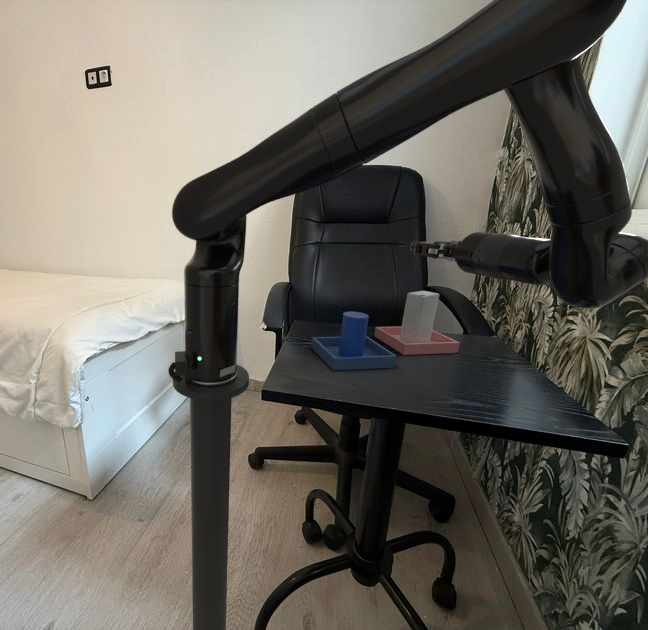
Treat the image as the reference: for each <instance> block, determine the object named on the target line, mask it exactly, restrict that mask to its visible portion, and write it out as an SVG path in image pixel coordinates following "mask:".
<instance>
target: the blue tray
mask: <svg viewBox="0 0 648 630" xmlns="http://www.w3.org/2000/svg"><path fill="white" fill-rule="evenodd" d="M340 338H341V336H321V337H320V336H319V337H318V336H316V337H311V346H310V347H311V349H312V351H314V352H315V353H316V354H317V355H318V356H319V357H320V358H321V359H322V361H323V362H325V364H327V366H329V367H330V368H331V370H333V371H348V370H349V371H351V370H352V371H353V370H371V369H373V370H374V369H392V368H394V369H395V368H396V366H397V360H398V355H396V354H394V352H391V351H390V350H388V349H387V348H386V347H384V346H382V345H381V344H379V343H378V342H376V341H375V340H373V339H372V338H370V337H369V336H367V335H366V340H365V347H364V354H363V356H362V357H342V356H340V355H339V347H340Z"/></svg>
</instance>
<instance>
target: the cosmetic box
mask: <svg viewBox="0 0 648 630" xmlns="http://www.w3.org/2000/svg"><path fill="white" fill-rule="evenodd" d="M439 300H440V293H437V292H433V291H428V290H419V291H412V292H407V295H406V300H405V304H404V311H403V316H402V323H401V326H402V327H401V333H400V338H399V340H401V341H403V342H405V343H406V344H407V343H428V342H430V339H431V334H432V330H434V329H433V328H434V324H435V318H436V313H437V308H438V303H439Z"/></svg>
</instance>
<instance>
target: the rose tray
mask: <svg viewBox="0 0 648 630" xmlns="http://www.w3.org/2000/svg"><path fill="white" fill-rule="evenodd" d="M401 327H402V325H399V326H398V325H397V326H375V328H374V338H376V339H378V340H379V341H381V342H383V343H384V344H386V345H387V346H389V347H391V348H392V349H394V350H395V351H397V352H399V353H400V354H401V355H403V356H409V355H411V356H412V355H413V356H414V355H415V356H416V355H435V354H436V355H437V354H457V353H458V352H459V347H460V342H459V341H457V340H455V339H454V338H451V337H449V336H447V335H444V334H443V333H440V332H438V331H436V330H434V329H432V334H431V339H430V342H428V343H407V344H406V343H405V342H403V341H401V340H399V338H400V333H401Z"/></svg>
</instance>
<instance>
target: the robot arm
mask: <svg viewBox="0 0 648 630" xmlns="http://www.w3.org/2000/svg"><path fill="white" fill-rule="evenodd" d="M627 1H628V0H492V1H491V2H489V3H488V4H486V5H485V6H484V7H482V8H481V9H479V10H478V11H477V12H475V13H474V14H472V15H471V16H470V17H469V18H467V19H466V20H464V21H463V22H461V23H460V24H459V25H457V26H456V27H454V28H453V29H451V30H450V31H448V32H446V33H445V34H443V35H442V36H441V37H438V38H437V39H436V40H434V41H432V42H431V43H429V44H427V45H425V46H423V47H421V48H419V49H416V50H415V51H413V52H411V53H409V54H407V55H405V56H402V57H400V58H398V59H396V60H393V61H392V62H389V63H386V64H385V65H383V66H382V67H379V68H376V69H375V70H373V71H371V72H370V73H367V74H366V75H364V76H361V77H359V78H358V79H356V80H354V81H353V82H350V83H349V84H347V85H345V86H344V87H342V88H340V89H338V90H337V91H336V92H334V93H332V94H331V95H329V96H328V97H326V98H325V99H323V100H321V101H320V102H318V103H317V104H315V105H314V106H312V107H310V108H309V109H308V110H306V111H305V112H303V113H302V114H301V115H298V117H296V118H294V119H293V120H292V121H290V122H289V123H287V124H286V125H284V126H282V127H281V128H280V129H278V130H277V131H275V132H273V133H272V134H271V135H269V136H268V137H266V138H264V139H263V140H262V141H261V142H259V143H257V144H256V145H255V146H253V147H252V148H250V149H249V150H247V151H246V152H245V153H242V154H241V155H239V156H238V157H236V158H234V159H232V160H230V161H229V162H226V163H224V164H222V165H220V166H218V167H216V168H214V169H212V170H210V171H208V172H206V173H204V174H202V175H199V176H197V177H196V178H193V179H191V180H190V181H188V182H186V183H185V184H184V185H183V186H182V187H181V188H180V189H179V190H178V192H177V193H176V195H175V198H174V199H173V203H172V207H171V218H172V222H173V225H174V227H175V228H176V230H177V231H178V233H179V234H181V235H182V236H183V237H185V238H187V239H189V240H192V241H195V248H194V251H193V254H192V256H191V258H190V259H189V261H188V262H187V263H186V264H185V265H184V267H183V293H184V294H183V297H184V298H183V300H184V304H183V305H184V321H183V327H184V328H183V329H184V335H183V337H184V350H182V351H181V350H180V351H179V350H178V351H174V361H172V363H170V365H169V367H168V369H167V371H168V372H167V373H168V375H169V377H170V378H171V379H172V380H173V379H174V380H175V381H177V382H178V383H180V382H181V381H182V378H181V377H180V376H182V375H185V378H186V384H195V385H198V386H203V387H219V386H224V385H227V384H230V383H232V382H233V381H234V380H235V379H236V378H237V365H238V336H239V335H238V333H239V332H238V330H239V298H240V297H239V296H240V273H241V271H242V268H243V265H244V261H245V252H246V237H247V215H248V214H250V213H252V212H254V211H256V210H257V209H259V208H261V207H263V206H265V205H267V204H269V203H272V202H274V201H277V200H281V199H284V198H288V197H290V196H291V197H292V196H294V195H297V194H300V193H303V192H306V191H309V190H311V189H315V188H318V187H320V186H323V185H325V184H327V183H329V182H332V181H334V180H337V179H339V178H341V177H344V176H345V175H347V174H348V173H351V172H352V171H355V170H357V169H359V168H361V167H362V166H364V165H366V164H368V163H370V162H372V161H373V160H375V159H377V158H378V157H380V156H382V155H384V154H386V153H388V152H389V151H391V150H393V149H394V148H397V147H398V146H400V145H402V144H403V143H405V142H407V141H409V140H410V139H412V138H413V137H415V136H417V135H419V134H420V133H422V132H424V131H425V130H427V129H428V128H430V127H432V126H434V125H435V124H437V123H438V122H440V121H442V120H443V119H445V118H447V117H448V116H450V115H452V114H454V113H457V112H458V111H460V110H462V109H464V108H466V107H468V106H471V105H472V104H475V103H477V102H479V101H481V100H483V99H486V98H488V97H490V96H493V95H495V94H498V93H499V92H502V91H504V93H505V95H506V97H507V99H508V100H509V103H510V105H511V107H512V110H513V111H514V114H515V116H516V119H517V121H518V124H519V126H520V129H521V130H522V134H523V136H524V139H525V142H526V146H527V147H528V150H529V154H530V157H531V161H532V164H533V167H534V170H535V174H536V178H537V181H538V185H539V188H540V193H541V196H542V199H543V204H544V207H545V211H546V214H547V217H548V220H549V224H550V227H551V235H550V238H542V237H530V236H521V235H517V234H513V233H512V234H510V233H500V232H499V233H498V232H485V231H484V232H483V231H476V232H472V233H469V234H468V235H466V236H465V237H464V238H463V239H461V240H459V239H458V240H457V239H454V240H435V241H433V242H430V241H429V242H428V241H417V240H413V241H411V243H410V247H409V248H410V249H409V250H410V252H411V253H413V255H414V256H419V257H426V258H432V259H435V260H437V259H439V260H447V261H448V262H456V265H457V266H458V268H459V269H460V270H461V271H462V272H464V273H468V274H472V275H477V276H482V277H486V278H490V279H496V280H507V281H512V282H518V283H521V284H527V285H532V286H533V285H534V286H545V285H549V284H550V286H551V288H552V291H553V292H554V293H555V295H556V296H557V297H558V298H559V299H560V300H561V301H563V302H564V303H565V304H567V305H569V306H571V307H575V308H577V309H583V310H585V309H586V310H591V309H598V308H601V307H604V306H606V305H608V304H610V303H612V302H614V301H615V300H617V299H618V298H620V297H621V296H623V295H624V294H626V293H627V292H629V291H630V290H633V288H635V287H636V286H638V285H640V284H641V283H643V282H644V281H646V280H647V279H648V239H647V238H644V237H642V236H640V235H636V234H632V233H627V232H622V231H623V230H624V229H625V227H626V226H627V225H628V224H629V222H630V221H631V219H632V215H633V214H632V213H633V207H632V202H631V195H630V190H629V185H628V184H629V183H628V180H627V179H628V178H627V175H626V169H625V166H624V162H623V160H622V159H623V158H622V157H621V154H620V151H619V149H618V147H617V145H616V143H615V141H614V139H613V137H612V135H611V133H610V132H609V130H608V128H607V127H606V124H605V123H604V120H603V119H602V118H601V116H600V114H599V112H598V110H597V109H596V107H595V104H594V102H593V100H592V98H591V96H590V93H589V90H588V88H587V84H586V81H585V77H584V74H583V73H584V72H583V69H582V61H581V55H582V54H584V52H587V51H588V49H590V48H591V47H593V46H594V45H595V44H596V43H597V42H598V41H599V40H600V39H601V38H602V37H603V36H604V35H605V34H606V33H607V31H608V30H609V29H610V28H611V26H612V25H614V23H615V21H616V20H617V19H618V17H619V16H620V14H621V13H622V11H623V9H624V8H625V5H626V3H627ZM441 247H442V248H441ZM174 372H175V373H174Z"/></svg>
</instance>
